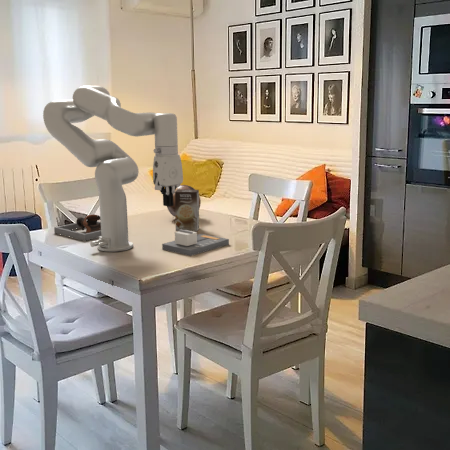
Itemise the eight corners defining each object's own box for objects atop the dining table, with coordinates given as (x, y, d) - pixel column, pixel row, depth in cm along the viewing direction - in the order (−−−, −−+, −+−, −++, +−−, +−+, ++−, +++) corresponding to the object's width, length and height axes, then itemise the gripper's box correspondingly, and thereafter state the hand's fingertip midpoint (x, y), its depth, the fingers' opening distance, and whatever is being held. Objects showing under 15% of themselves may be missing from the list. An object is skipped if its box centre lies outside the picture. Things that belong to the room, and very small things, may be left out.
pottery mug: (107, 230, 243) (108, 215, 238) (99, 245, 236) (99, 230, 231) (80, 222, 244) (80, 207, 239) (70, 237, 237) (70, 222, 231)
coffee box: (175, 231, 238) (173, 191, 235) (177, 227, 245) (176, 189, 241) (197, 231, 237) (196, 191, 234) (199, 227, 244) (199, 189, 240)
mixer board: (190, 256, 202) (190, 250, 201) (162, 249, 211) (162, 243, 210) (228, 244, 217) (228, 238, 216) (200, 238, 226) (200, 233, 225)
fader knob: (187, 246, 206) (186, 233, 205) (175, 243, 210) (174, 230, 209) (197, 243, 209) (196, 230, 208) (185, 240, 213) (184, 228, 212)
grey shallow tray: (84, 241, 224) (84, 234, 223) (54, 233, 237) (54, 227, 236) (122, 232, 237) (121, 226, 237) (91, 225, 250) (91, 219, 250)
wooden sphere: (159, 219, 260) (158, 185, 257) (182, 214, 272) (181, 181, 269) (185, 223, 251) (184, 188, 248) (207, 217, 263) (207, 184, 260)
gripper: (157, 153, 188) (159, 210, 192) (190, 150, 200) (191, 203, 204) (141, 152, 193) (144, 207, 197) (174, 148, 204) (176, 201, 208)
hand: (168, 205), depth 200 cm, fingers closed
